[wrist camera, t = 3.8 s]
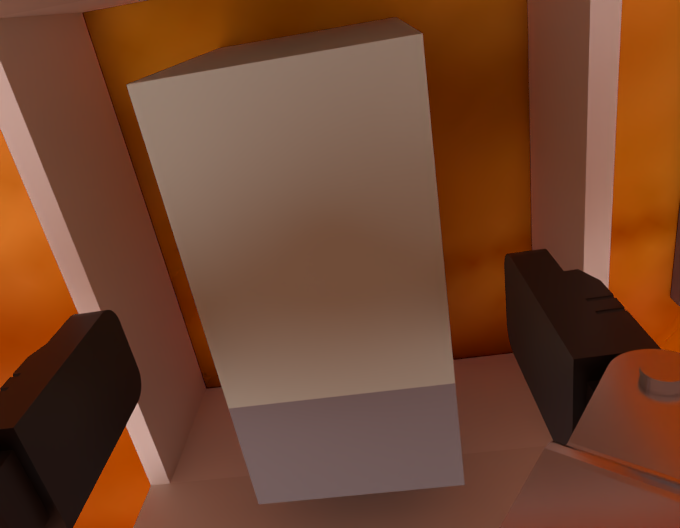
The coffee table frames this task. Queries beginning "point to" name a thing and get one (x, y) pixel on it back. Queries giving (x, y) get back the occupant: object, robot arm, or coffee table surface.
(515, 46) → the coffee table surface
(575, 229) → the carton
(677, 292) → the mat
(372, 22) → the box
